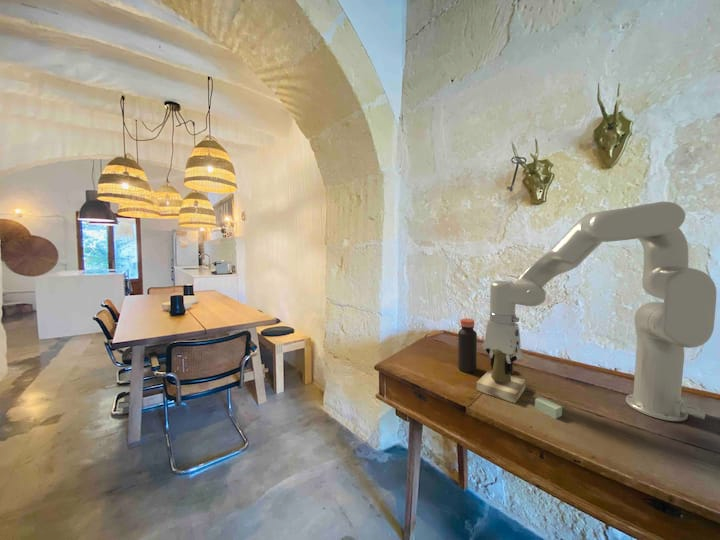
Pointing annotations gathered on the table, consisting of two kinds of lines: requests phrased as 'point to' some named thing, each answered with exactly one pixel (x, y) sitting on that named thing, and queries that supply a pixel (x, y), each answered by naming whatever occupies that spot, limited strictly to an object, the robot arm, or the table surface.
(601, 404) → the table surface
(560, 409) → the sage brick
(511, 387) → the beech board
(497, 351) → the cork
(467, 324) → the bottle
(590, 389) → the table surface
